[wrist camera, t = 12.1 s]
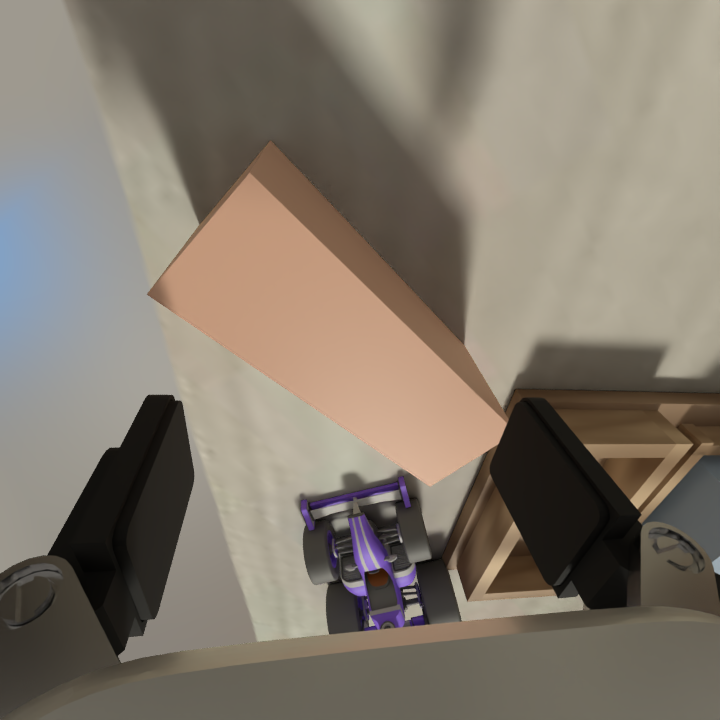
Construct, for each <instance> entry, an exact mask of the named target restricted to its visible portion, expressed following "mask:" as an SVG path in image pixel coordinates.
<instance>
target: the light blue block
mask: <svg viewBox="0 0 720 720" xmlns="http://www.w3.org/2000/svg"><path fill="white" fill-rule="evenodd" d="M654 521H655V522H661V523H665V524H668V525H671V526H674V527H676V528H677V529H679V530H681V531H683V532H684V533H686V534H687V535H689V536H690V537H691V538H692V539H694V540H695V541H696V542H697V543H698V544H699V545H700V546H701V547H702V548H703V549H704V550H705V552H706V553H707V555H708V556H709V557H710V559H711V562H712V565H713V567H714V572H716V573H717V574H719V575H720V455H703V456H702V458H701V459H700V460H699V461H698V462H697V463H696V464H695V465H694V466H693V467H692V469H691V470H690V471H689V472H688V473H687V474H686V475H685V476H684V477H683V479H682V480H681V481H680V482H679V483H678V484H677V485H676V486H675V487H674V489H673V490H672V491H671V492H670V493H669V494H668V495H667V496H666V497H665V498H664V500H663V501H662V502H661V503H660V504H659V505H658V506H657V507H656V508H655V510H654V511H653V512H652V513H651V514H650V515H649V516H648V517H647V518H646V519H645V521H644V522H643V523H642V526H643V525H645V524H646V523H648V522H654Z"/></svg>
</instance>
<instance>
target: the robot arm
mask: <svg viewBox="0 0 720 720" xmlns="http://www.w3.org/2000/svg"><path fill="white" fill-rule="evenodd" d="M489 469H490V475H491V477H492V479H493V481H494V483H495V485H496V487H497V489H498V491H499V493H500V495H501V497H502V499H503V501H504V503H505V505H506V507H507V509H508V511H509V513H510V514H511V516H512V518H513V520H514V522H515V524H516V526H517V528H518V530H519V532H520V534H521V536H522V538H523V540H524V542H525V544H526V546H527V548H528V550H529V551H530V553H531V555H532V557H533V559H534V561H535V563H536V565H537V567H538V569H539V571H540V573H541V575H542V577H543V579H544V580H545V582H546V583H547V584H548V585H550V586H552V588H553V590H554V592H555V593H556V595H557V597H558V598H566V597H576V596H577V595H578V594H579V595H580V597H581V598H582V600H583V602H584V604H583V610H581V611H570V612H559V613H548V614H537V615H526V616H515V617H504V618H493V619H483V620H473V621H462V622H452V623H441V624H431V625H421V626H410V627H400V628H390V629H380V630H370V631H360V632H350V633H340V634H330V635H321V636H311V637H301V638H291V639H281V640H272V641H262V642H253V643H245V644H237V645H229V646H220V647H212V648H204V649H196V650H187V651H180V652H174V653H168V654H163V655H156V656H150V657H145V658H140V659H136V660H132V661H128V662H124V663H121V662H120V660H119V658H118V655H119V654H120V653H122V652H123V651H124V650H125V647H126V644H127V641H128V637H134V636H143V634H144V631H145V627H146V623H147V620H149V619H155V617H156V616H157V613H158V610H159V607H160V603H161V600H162V595H163V592H164V589H165V585H166V581H167V578H168V574H169V571H170V567H171V563H172V560H173V556H174V552H175V549H176V545H177V542H178V538H179V534H180V531H181V527H182V524H183V520H184V516H185V513H186V509H187V505H188V501H189V498H190V494H191V491H192V487H193V482H194V468H193V463H192V457H191V451H190V445H189V439H188V433H187V428H186V421H185V416H184V410H183V404H182V402H181V401H175V399H174V396H173V395H148V396H147V397H146V398H145V400H144V402H143V404H142V406H141V408H140V410H139V412H138V413H137V415H136V417H135V419H134V421H133V423H132V425H131V427H130V429H129V431H128V433H127V435H126V437H125V439H124V441H123V442H122V444H121V447H120V448H109V449H108V450H106V452H105V453H104V455H103V456H102V458H101V459H100V461H99V463H98V465H97V467H96V469H95V470H94V472H93V474H92V476H91V477H90V479H89V481H88V483H87V485H86V487H85V488H84V490H83V492H82V494H81V495H80V497H79V499H78V501H77V503H76V504H75V506H74V508H73V510H72V512H71V514H70V515H69V517H68V519H67V521H66V523H65V524H64V526H63V528H62V530H61V532H60V533H59V535H58V537H57V539H56V541H55V542H54V544H53V546H52V548H51V550H50V551H49V553H48V555H47V556H46V555H43V556H38V557H34V558H29V559H27V560H24V561H22V562H20V563H17V564H16V565H13V566H11V567H10V568H8V569H7V570H5V571H4V572H2V573H0V720H720V575H719V574H717V573H716V572H714V567H713V565H712V562H711V559H710V557H709V556H708V555H707V553H706V552H705V550H704V549H703V548H702V547H701V546H700V545H699V544H698V543H697V542H696V541H695V540H694V539H692V538H691V537H690V536H689V535H687V534H686V533H684V532H683V531H681V530H679V529H677V528H676V527H674V526H671V525H668V524H665V523H661V522H655V521H654V522H648V523H646V524H645V525H643V526H642V524H641V523H640V522H639V521H638V519H639V518H640V516H641V515H642V514H641V513H640V512H639V511H638V509H637V508H636V507H635V506H634V505H633V503H632V502H631V501H630V500H629V499H628V497H627V496H626V495H625V494H624V493H623V491H622V490H621V489H620V488H619V487H618V485H617V484H616V483H615V482H614V481H613V479H612V478H611V477H610V476H609V475H608V473H607V472H606V471H605V470H604V469H603V467H602V466H601V465H600V464H599V463H598V461H597V460H596V459H595V458H594V457H593V455H592V454H591V453H590V452H589V450H588V449H587V448H586V447H585V446H584V444H583V443H582V442H581V441H580V440H579V438H578V437H577V436H576V435H575V434H574V432H573V431H572V430H571V429H570V428H569V426H568V425H567V424H566V423H565V422H564V420H563V419H562V418H561V417H560V416H559V414H558V413H557V412H556V411H555V410H554V408H553V407H552V406H551V405H550V404H549V402H548V401H547V400H546V399H545V398H540V397H525V398H522V399H521V400H520V402H518V403H516V404H515V406H514V408H513V410H512V413H511V415H510V418H509V420H508V422H507V425H506V427H505V429H504V432H503V434H502V437H501V439H500V441H499V444H498V446H497V449H496V451H495V453H494V456H493V458H492V461H491V463H490V468H489Z"/></svg>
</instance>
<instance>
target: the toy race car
mask: <svg viewBox="0 0 720 720" xmlns="http://www.w3.org/2000/svg"><path fill="white" fill-rule="evenodd" d="M398 480H399V481H397V482H396V483H392V484H388V485H383V486H379V487H375V488H371V489H367V490H362V491H358V492H354V493H350V494H346V495H341V496H337V497H333V498H329V499H325V500H320V501H316V502H312V503H310V502H309V503H308V502H307V500H302V501H301V512H302V514H303V516H304V519H305V521H306V526H305V528H304V533H303V552H304V559H305V564H306V568H307V572H308V575H309V577H310V579H311V581H312V583H313V584H314V585H318V584H323V583H327V582H331V581H336V580H337V579H338V577H339V568H340V576H341V579H342V581H343V582H338V583H334V584H330V585H329V586H328V589H327V594H326V616H327V625H328V631H329V635H330V634H340V633H350V632H360V631H370V630H380V629H390V628H400V627H410V626H421V625H431V624H441V623H452V622H462V620H461V616H460V612H459V608H458V604H457V600H456V597H455V593H454V589H453V586H452V582H451V579H450V575H449V572H448V569H447V568H446V565H445V563H444V561H443V560H442V559H439V560H435V561H431V562H426V563H422V564H418V565H416V566H415V562H419V561H424V560H428V559H431V558H432V553H431V548H430V544H429V540H428V536H427V533H426V529H425V525H424V521H423V517H422V513H421V510H420V506H419V502H418V501H417V499H416V498H415V499H410V500H409V496H408V492H407V489H406V485H405V481H404V477H403V476H402V477H398ZM399 499H401V500H404V501H402V502H398V503H396V514H397V520H398V524H394V525H390V526H385V527H381V528H377V527H376V525H375V524H374V523H373V522H372V521H371V520H367V518H366V516H365V514H364V512H360V510H359V507H361V506H365V505H370V504H374V503H378V502H384V501H392V500H399ZM348 509H353V515H349V516H348V521H349V525H350V530H351V535H347V536H343V537H339V538H336V536H335V533H334V530H333V528H332V526H331V524H330V523H329V521H328V520H321V521H317V522H315V519H318V518H321V517H324V516H326V515H329V514H332V513H336V512H340V511H344V510H348ZM339 560H340V563H339ZM415 574H417V579H418V583H417V582H416V583H415V585H414V586H408V585H410V584H411V583H412V582H413V580H414V578H415ZM418 584H419V586H418ZM412 588H415V589H416V592H404V593H403V589H412ZM419 589H420V590H419ZM420 593H421V594H420ZM415 594H417V596H418V598H413V599H409V600H406V599H405V597H404V596H406V595H415ZM365 595H367V596H365ZM403 597H404V598H403ZM367 599H368V602H367ZM416 604H420V607H421V609H422V611H423V615H421V616H417V617H412V618H411V620H407V621H405V614H404V612H406V611H405V610H407V606H411V605H416ZM368 606H369V608H368ZM369 615H370V616H371V618H372V620H373V622H374V624H375V626H371V627H369Z"/></svg>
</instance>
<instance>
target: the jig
mask: <svg viewBox="0 0 720 720" xmlns="http://www.w3.org/2000/svg"><path fill="white" fill-rule="evenodd" d="M525 397H540V398H545V399H546V400H547V401H548V402H549V404H550V405H551V406H552V407H553V408H554V410H555V411H556V412H557V413H558V414H559V416H560V417H561V418H562V419H563V420H564V422H565V423H566V424H567V425H568V426H569V428H570V429H571V430H572V431H573V432H574V434H575V435H576V436H577V437H578V438H579V440H580V441H581V442H582V443H583V444H584V446H585V447H586V448H587V449H588V450H589V452H590V453H591V454H592V455H593V457H594V458H595V459H596V460H597V461H598V463H599V464H600V465H601V466H602V467H603V469H604V470H605V471H606V472H607V473H608V475H609V476H610V477H611V478H612V479H613V481H614V482H615V483H616V484H617V485H618V487H619V488H620V489H621V490H622V491H623V493H624V494H625V495H626V496H627V497H628V499H629V500H630V501H631V502H632V503H633V505H634V506H635V507H636V508H637V509H638V511H639V512H640V513H641V514H642V515H641V516H640V518H639V519H638V521H639V522H640V523H641V524H642V523H643V522H644V521H645V519H646V518H647V517H648V516H649V515H650V514H651V513H652V512H653V511H654V510H655V508H656V507H657V506H658V505H659V504H660V503H661V502H662V501H663V500H664V498H665V497H666V496H667V495H668V494H669V493H670V492H671V491H672V490H673V489H674V487H675V486H676V485H677V484H678V483H679V482H680V481H681V480H682V479H683V477H684V476H685V475H686V474H687V473H688V472H689V471H690V470H691V469H692V467H693V466H694V465H695V464H696V463H697V462H698V461H699V460H700V459H701V458H702V456H703V455H720V394H718V393H673V392H628V391H583V390H537V389H516V390H515V392H514V394H513V397H512V399H511V401H510V403H509V406H508V408H507V410H506V412H505V414H506V416H507V417H508V419H509V418H510V415H511V413H512V410H513V408H514V406H515V404H516V403H518V402H520V400H521V399H522V398H525ZM497 446H498V445H496V446H495V447H493V448H491V449H490V450H489V451H488V453H487V456H486V458H485V460H484V462H483V465H482V467H481V469H480V471H479V474H478V476H477V478H476V480H475V483H474V485H473V487H472V490H471V492H470V494H469V496H468V499H467V501H466V503H465V505H464V508H463V510H462V512H461V515H460V517H459V519H458V521H457V524H456V526H455V528H454V530H453V533H452V535H451V537H450V539H449V542H448V544H447V546H446V549H445V551H444V553H443V555H442V560H443V561H444V563H445V565H446V568H447V569H448V570H455V569H457V570H458V573H459V576H460V579H461V583H462V586H463V589H464V592H465V596H466V599H467V602H469V601H484V600H498V599H513V598H528V597H542V596H557V595H556V593H555V592H554V590H553V588H552V586H550V585H548V584H547V583H546V582H545V580H544V579H543V577H542V575H541V573H540V571H539V569H538V567H537V565H536V563H535V561H534V559H533V557H532V555H531V553H530V551H529V550H528V548H527V546H526V544H525V542H524V540H523V538H522V536H521V534H520V532H519V530H518V528H517V526H516V524H515V522H514V520H513V518H512V516H511V514H510V513H509V511H508V509H507V507H506V505H505V503H504V501H503V499H502V497H501V495H500V493H499V491H498V489H497V487H496V485H495V483H494V481H493V479H492V477H491V475H490V469H489V468H490V463H491V461H492V458H493V456H494V453H495V451H496V449H497Z"/></svg>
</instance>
